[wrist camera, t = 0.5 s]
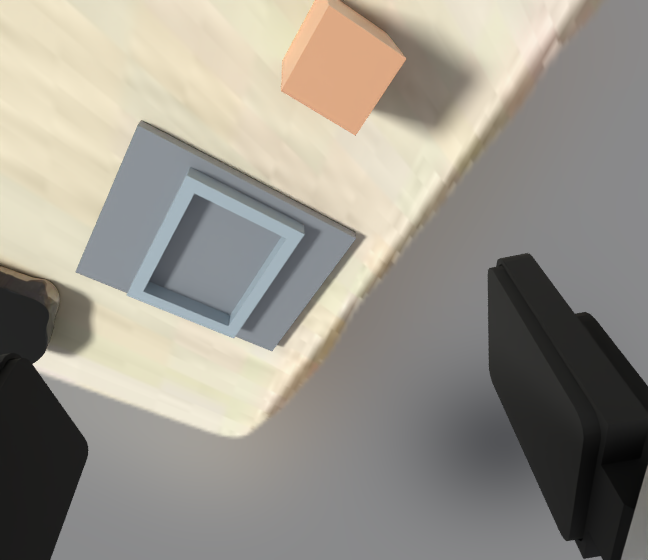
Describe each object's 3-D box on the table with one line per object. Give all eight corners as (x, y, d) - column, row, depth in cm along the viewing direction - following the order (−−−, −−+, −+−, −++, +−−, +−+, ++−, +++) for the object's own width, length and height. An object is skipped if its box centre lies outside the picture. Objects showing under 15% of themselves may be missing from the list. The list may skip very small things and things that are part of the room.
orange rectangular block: (321, -13, 32) (328, 5, 27) (386, 33, 34) (406, 58, 29) (282, 60, 35) (281, 90, 29) (345, 99, 37) (355, 135, 31)
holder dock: (141, 120, 37) (132, 132, 34) (354, 232, 43) (358, 248, 41) (79, 265, 43) (69, 282, 41) (272, 343, 49) (271, 362, 47)
